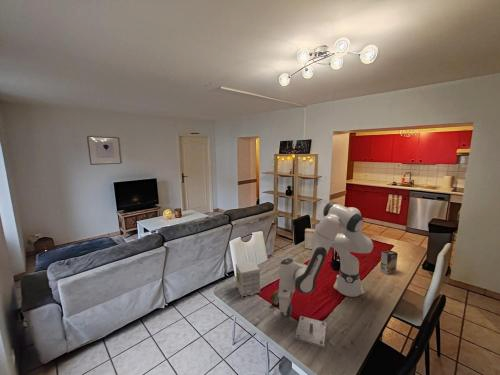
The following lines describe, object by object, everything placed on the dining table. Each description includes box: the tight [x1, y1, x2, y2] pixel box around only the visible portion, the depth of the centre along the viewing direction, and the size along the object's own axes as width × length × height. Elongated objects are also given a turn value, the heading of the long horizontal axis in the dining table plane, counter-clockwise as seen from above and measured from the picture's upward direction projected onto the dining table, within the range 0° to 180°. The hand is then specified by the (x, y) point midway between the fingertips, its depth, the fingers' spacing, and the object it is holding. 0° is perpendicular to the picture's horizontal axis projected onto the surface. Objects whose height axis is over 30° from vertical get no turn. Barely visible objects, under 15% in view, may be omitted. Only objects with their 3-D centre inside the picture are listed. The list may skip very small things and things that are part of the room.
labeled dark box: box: [280, 302, 293, 318], centre depth 129 cm, size 5×5×6 cm
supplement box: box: [235, 260, 261, 298], centre depth 151 cm, size 13×13×18 cm
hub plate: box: [294, 315, 327, 349], centre depth 115 cm, size 16×14×4 cm
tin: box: [270, 288, 279, 306], centre depth 139 cm, size 15×3×8 cm, turn 127°
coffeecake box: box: [304, 227, 316, 249], centre depth 214 cm, size 15×7×20 cm, turn 66°
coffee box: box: [379, 249, 398, 275], centre depth 170 cm, size 9×6×16 cm
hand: (286, 309), depth 128 cm, fingers open, 8 cm apart
